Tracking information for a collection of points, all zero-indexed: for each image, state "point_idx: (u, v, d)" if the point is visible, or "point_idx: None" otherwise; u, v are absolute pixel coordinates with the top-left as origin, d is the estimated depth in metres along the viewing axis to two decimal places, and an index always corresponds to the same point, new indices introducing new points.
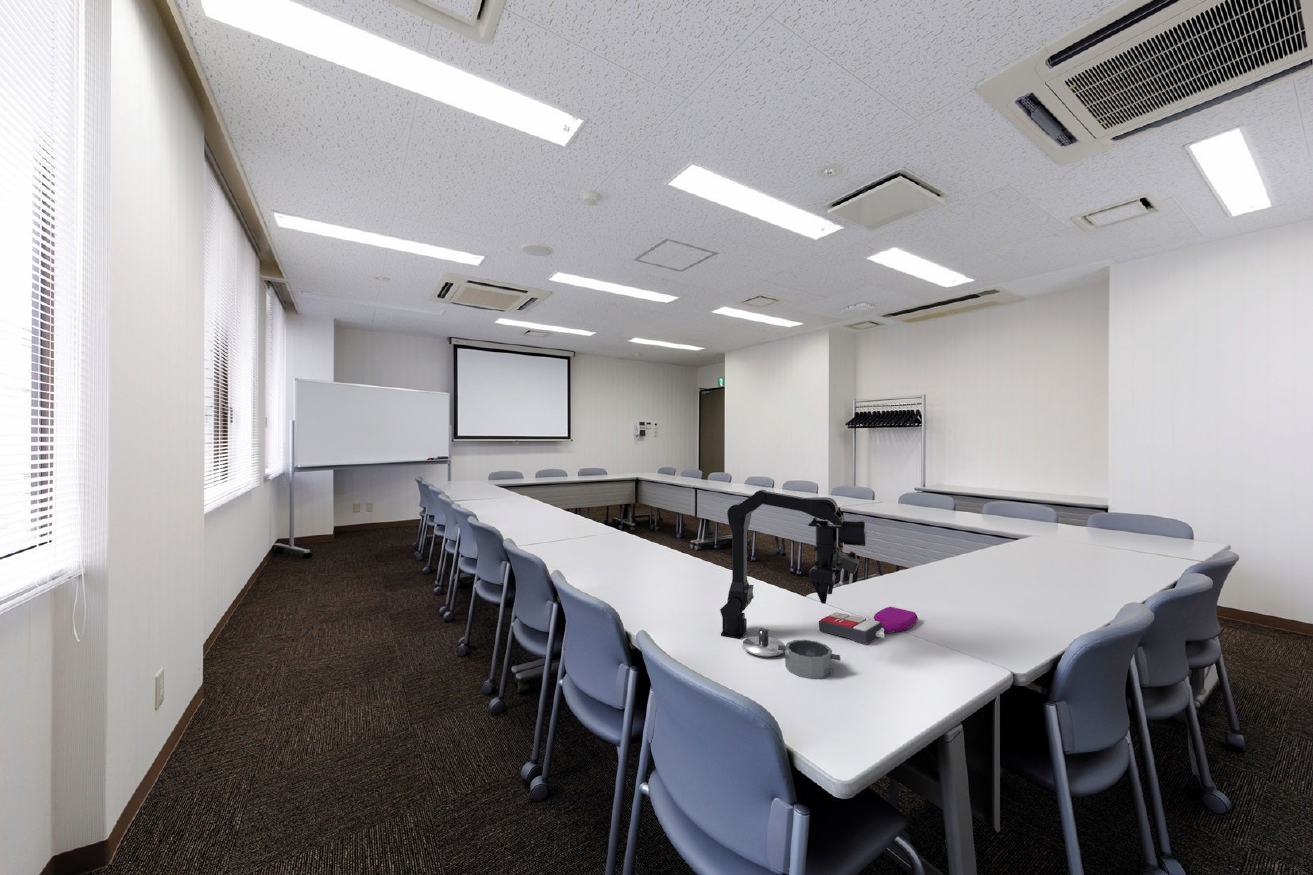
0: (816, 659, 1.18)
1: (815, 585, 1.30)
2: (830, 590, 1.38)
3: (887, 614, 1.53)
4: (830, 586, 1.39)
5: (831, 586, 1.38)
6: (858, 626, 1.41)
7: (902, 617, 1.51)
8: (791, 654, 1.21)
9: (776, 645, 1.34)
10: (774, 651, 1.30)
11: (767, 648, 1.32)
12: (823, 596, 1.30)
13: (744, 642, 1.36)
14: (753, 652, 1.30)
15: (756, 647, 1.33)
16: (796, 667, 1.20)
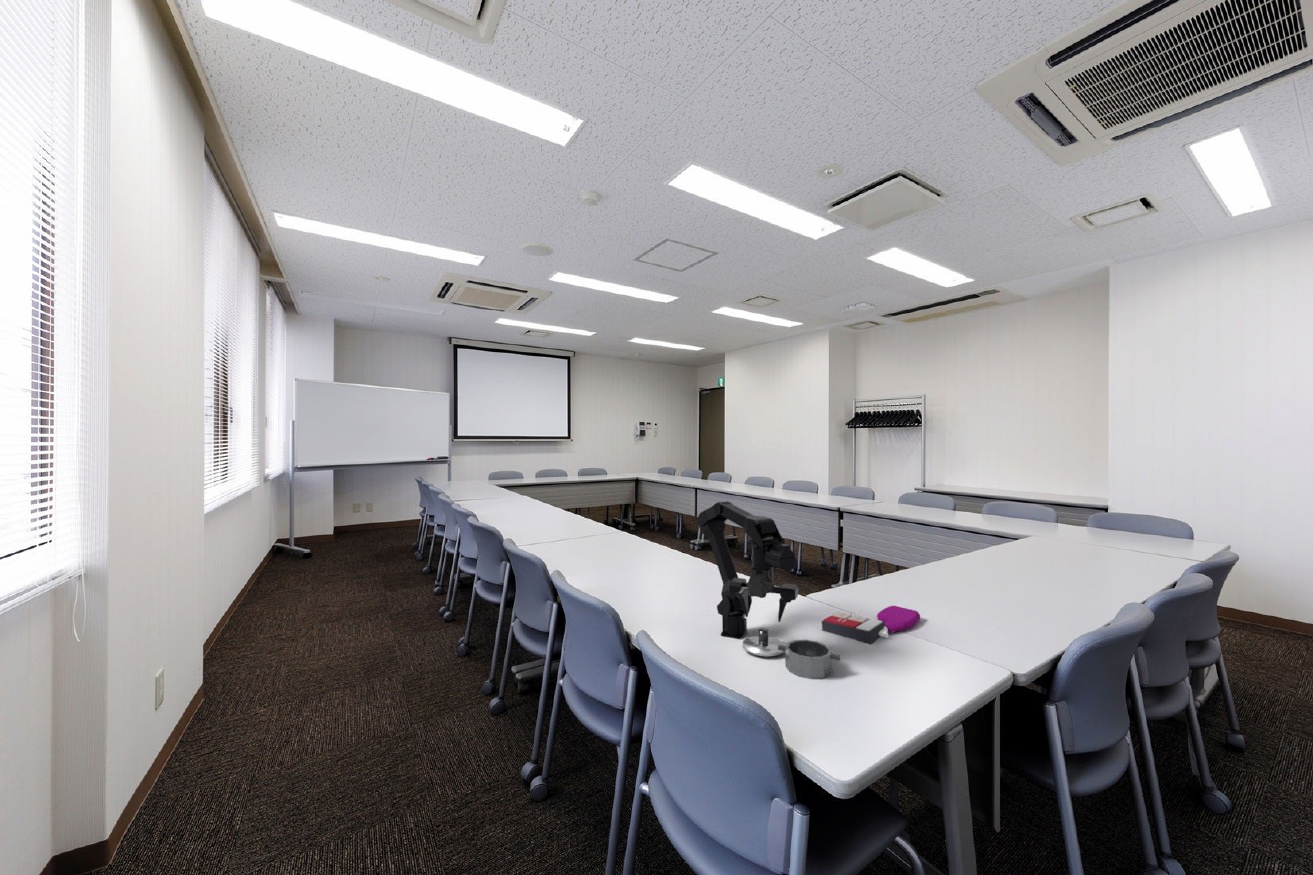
0: (816, 659, 1.18)
1: None
2: None
3: (890, 613, 1.54)
4: None
5: None
6: (861, 626, 1.42)
7: (905, 616, 1.52)
8: (791, 654, 1.21)
9: (776, 645, 1.34)
10: (774, 651, 1.30)
11: (767, 648, 1.32)
12: None
13: (744, 642, 1.36)
14: (753, 652, 1.30)
15: (756, 647, 1.33)
16: (796, 667, 1.20)
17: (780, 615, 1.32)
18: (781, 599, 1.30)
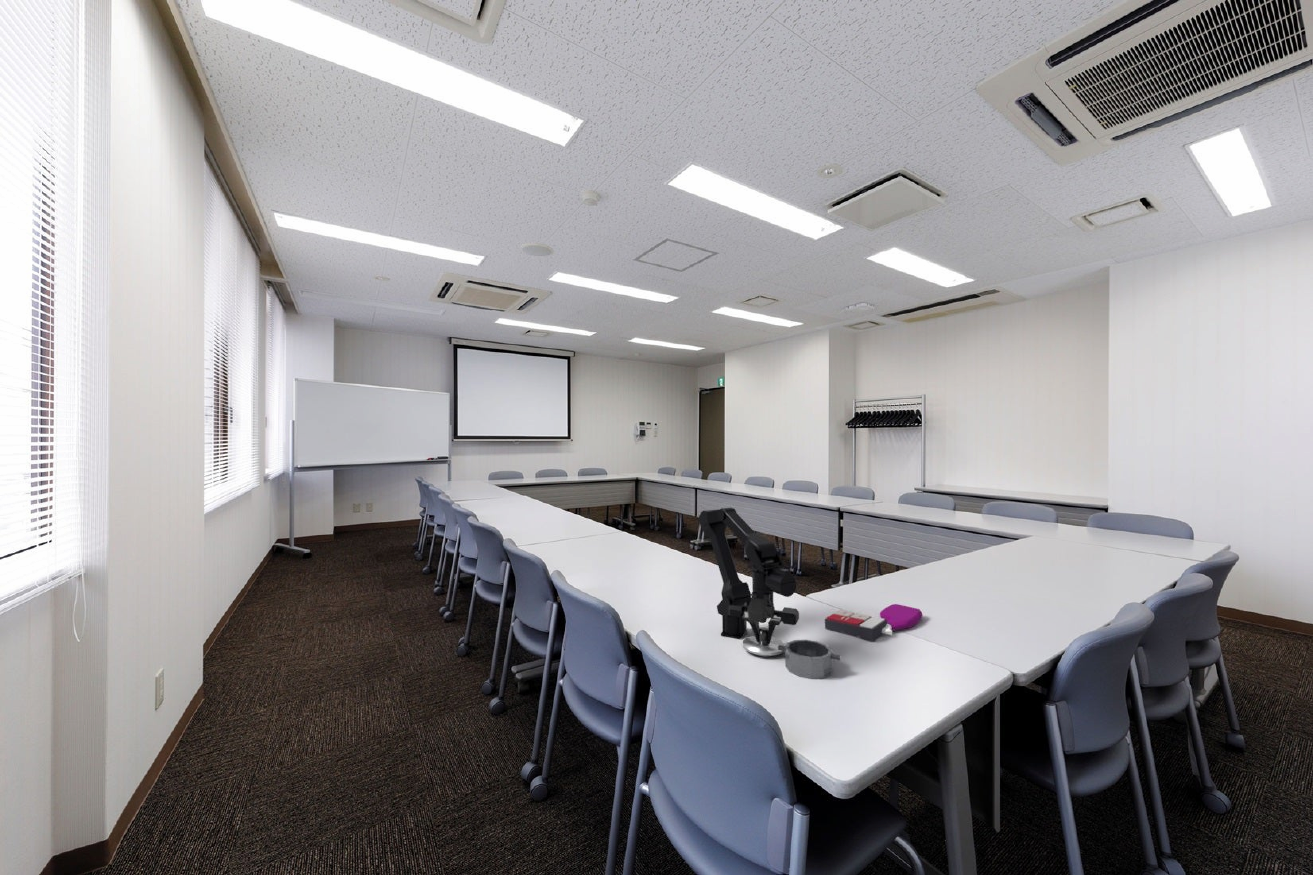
0: (816, 659, 1.18)
1: None
2: None
3: (893, 611, 1.56)
4: (768, 635, 1.34)
5: None
6: (864, 624, 1.43)
7: (908, 614, 1.54)
8: (791, 654, 1.21)
9: (776, 644, 1.34)
10: (774, 650, 1.30)
11: (767, 647, 1.32)
12: None
13: (744, 641, 1.36)
14: (753, 652, 1.30)
15: (756, 646, 1.33)
16: (796, 667, 1.20)
17: (769, 638, 1.33)
18: (770, 622, 1.32)
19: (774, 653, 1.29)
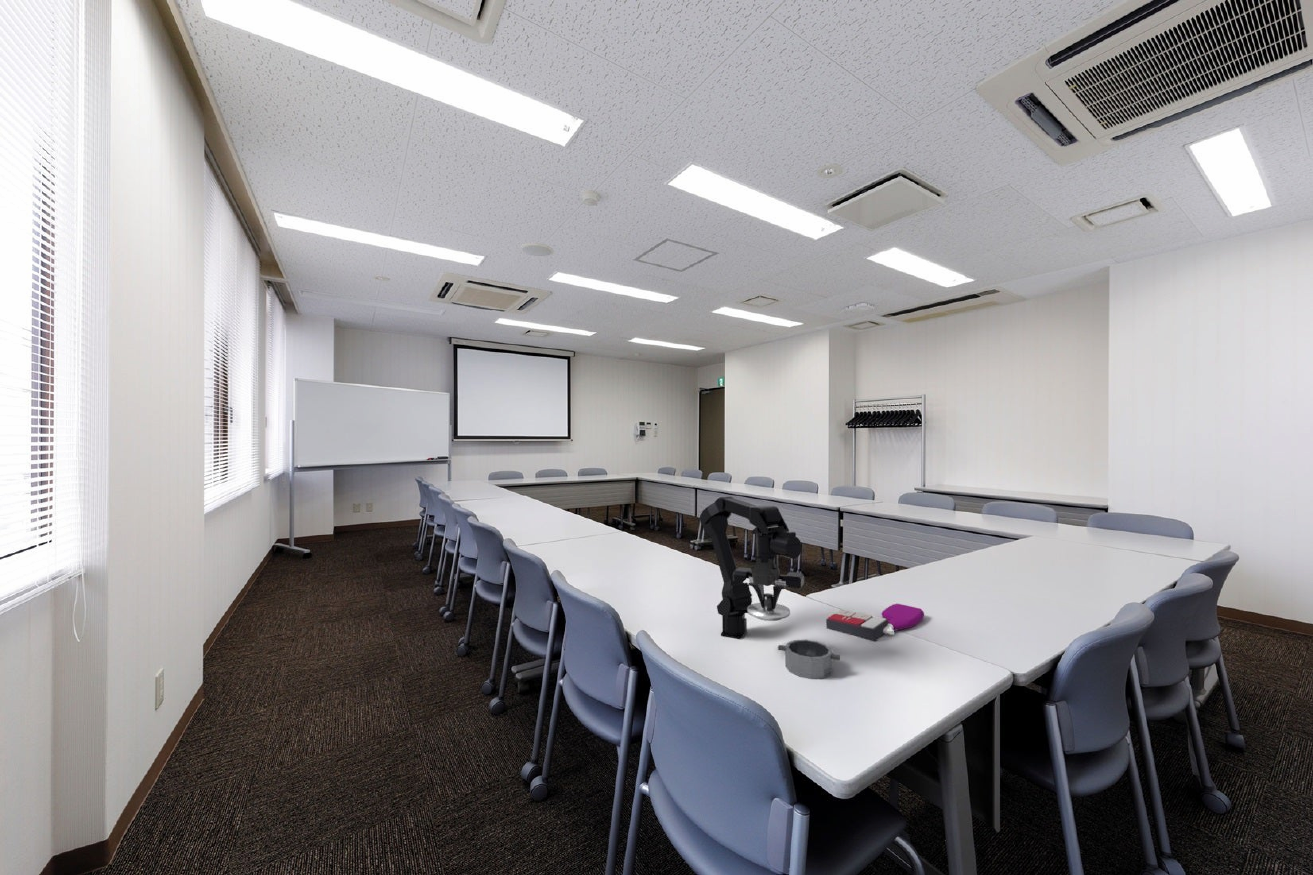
0: (816, 659, 1.18)
1: None
2: None
3: (895, 611, 1.56)
4: None
5: None
6: (865, 624, 1.44)
7: (910, 614, 1.54)
8: (791, 654, 1.21)
9: (781, 610, 1.33)
10: (779, 614, 1.29)
11: (772, 612, 1.31)
12: None
13: (749, 607, 1.35)
14: (758, 616, 1.29)
15: (761, 611, 1.31)
16: (796, 667, 1.20)
17: (774, 602, 1.32)
18: (775, 586, 1.30)
19: (779, 617, 1.28)
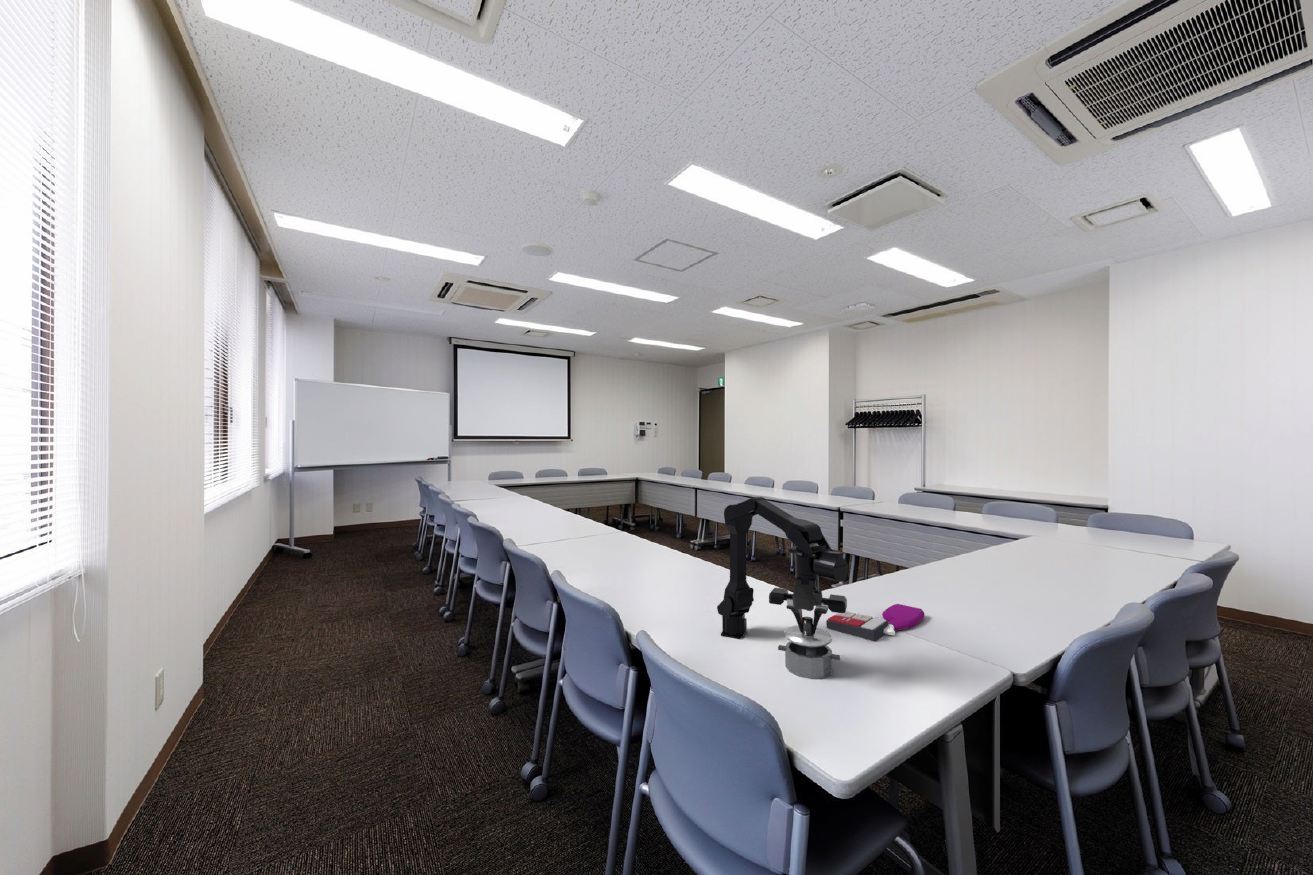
0: (816, 659, 1.18)
1: None
2: None
3: (895, 612, 1.56)
4: (813, 625, 1.23)
5: (813, 625, 1.23)
6: (865, 625, 1.44)
7: (910, 614, 1.54)
8: (791, 654, 1.21)
9: (822, 635, 1.23)
10: (821, 641, 1.19)
11: (813, 638, 1.21)
12: None
13: (786, 631, 1.25)
14: (798, 642, 1.19)
15: (800, 637, 1.22)
16: (796, 667, 1.20)
17: (815, 627, 1.22)
18: (816, 610, 1.21)
19: (821, 644, 1.18)
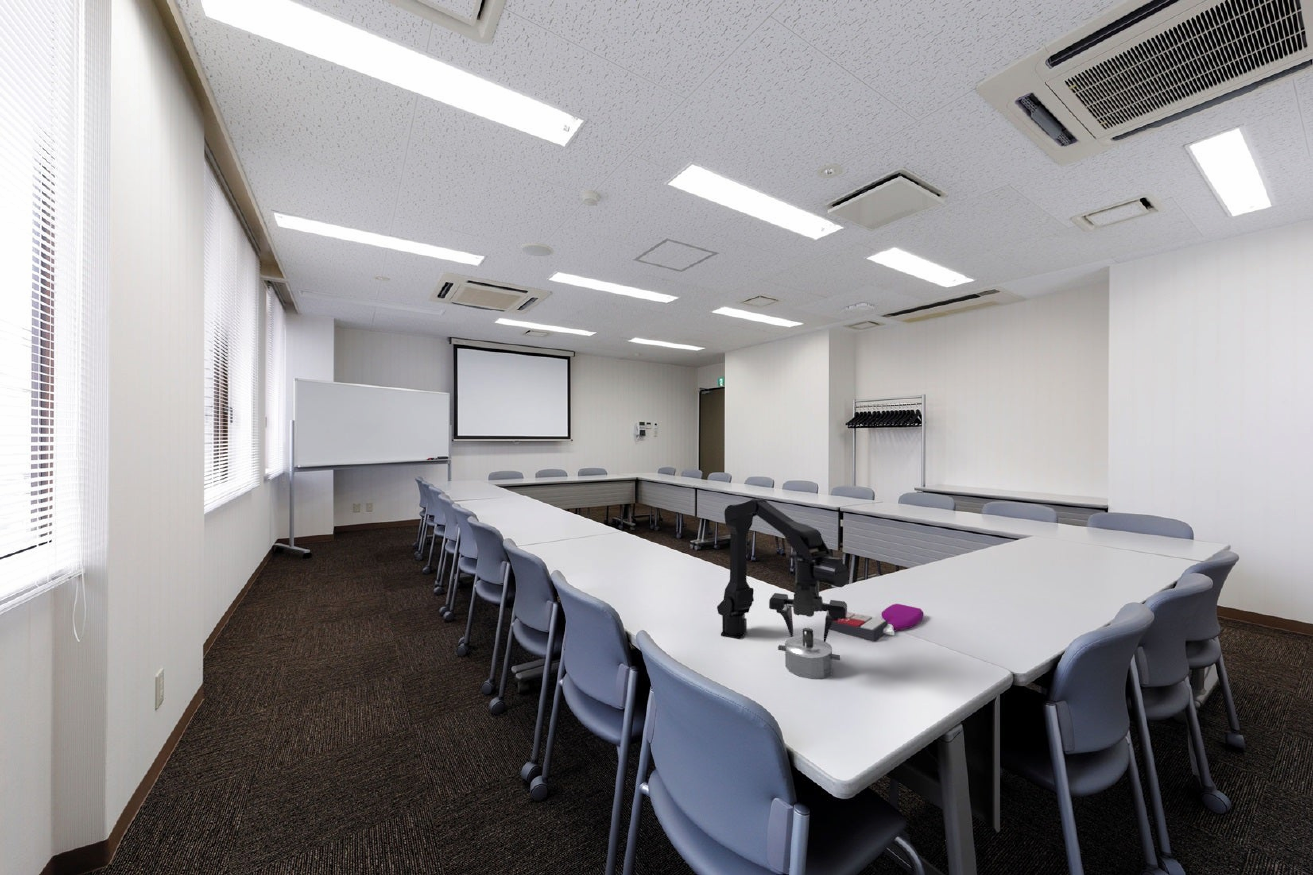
0: (816, 659, 1.18)
1: None
2: None
3: (894, 611, 1.57)
4: (824, 632, 1.22)
5: (824, 633, 1.22)
6: (865, 625, 1.43)
7: (909, 614, 1.54)
8: (791, 654, 1.21)
9: (822, 646, 1.23)
10: (821, 652, 1.19)
11: (813, 649, 1.21)
12: None
13: (786, 643, 1.25)
14: (798, 654, 1.19)
15: (801, 648, 1.22)
16: (796, 667, 1.20)
17: (826, 634, 1.21)
18: (827, 617, 1.20)
19: (822, 656, 1.18)
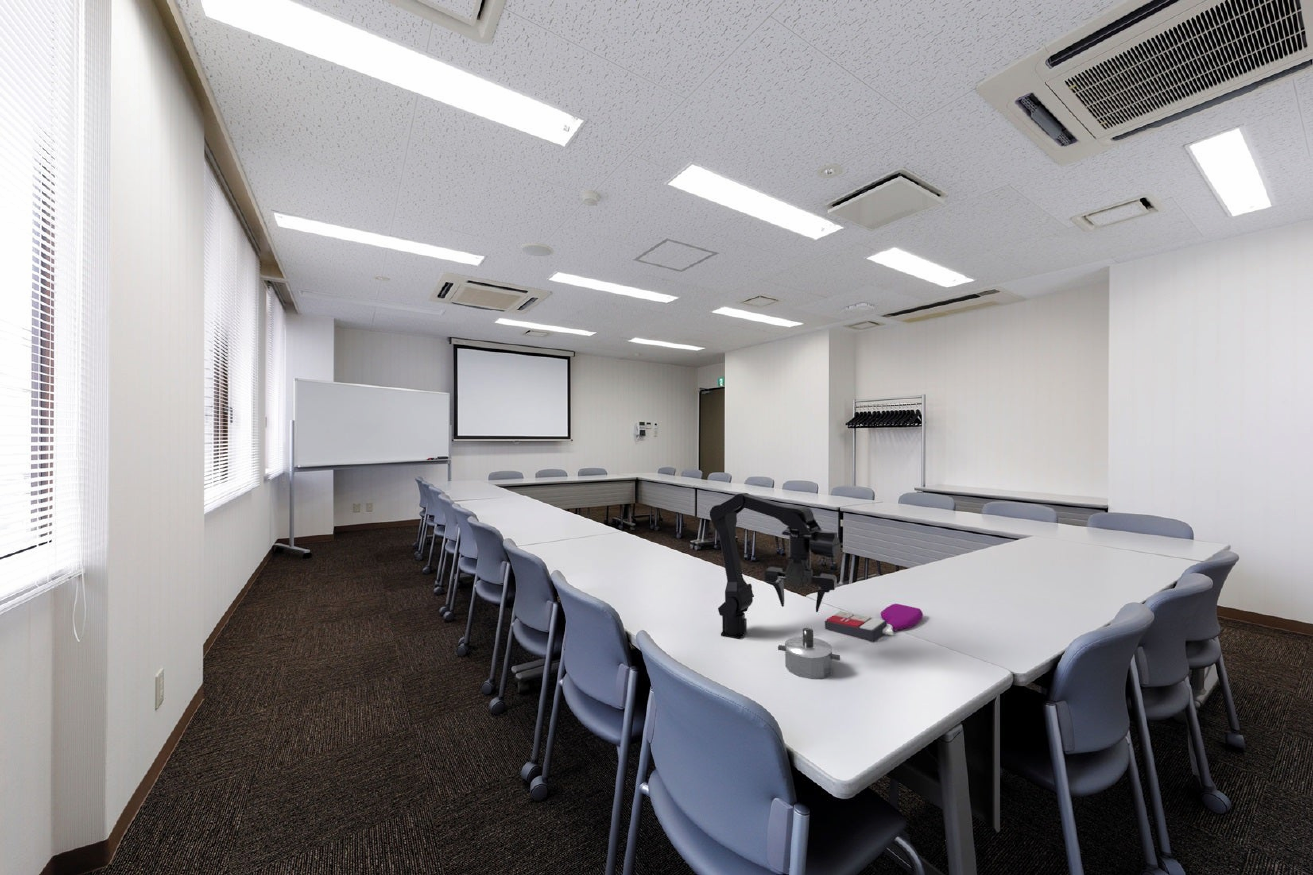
0: (816, 659, 1.18)
1: None
2: None
3: (894, 611, 1.57)
4: None
5: (816, 603, 1.30)
6: (864, 625, 1.43)
7: (908, 614, 1.54)
8: (791, 654, 1.21)
9: (822, 646, 1.23)
10: (821, 652, 1.19)
11: (813, 649, 1.21)
12: None
13: (786, 643, 1.25)
14: (798, 654, 1.19)
15: (801, 648, 1.22)
16: (796, 667, 1.20)
17: (818, 605, 1.30)
18: (819, 589, 1.28)
19: (822, 656, 1.18)
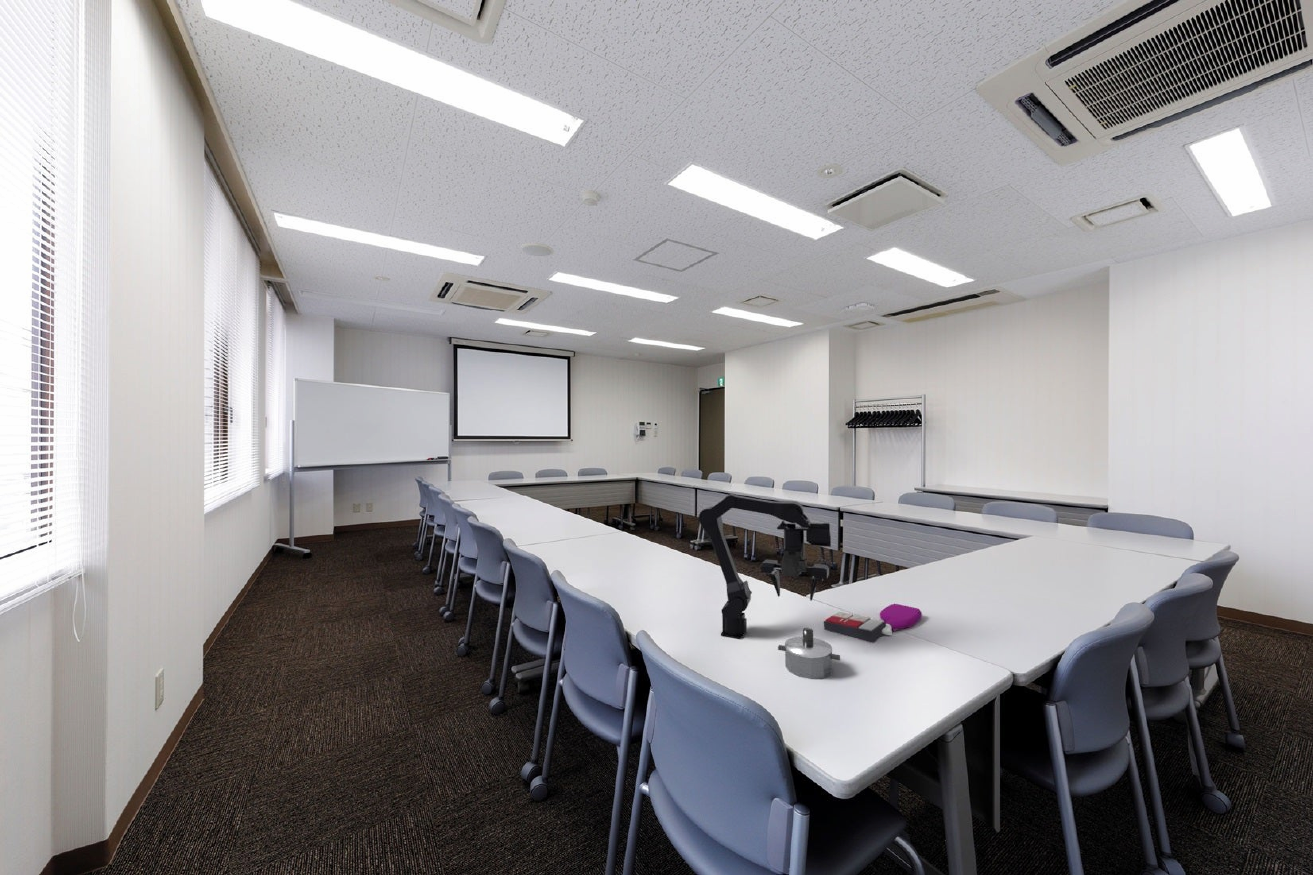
0: (816, 659, 1.18)
1: None
2: None
3: (893, 611, 1.57)
4: None
5: None
6: (863, 626, 1.43)
7: (907, 614, 1.54)
8: (791, 654, 1.21)
9: (822, 646, 1.23)
10: (821, 652, 1.19)
11: (813, 649, 1.21)
12: None
13: (786, 643, 1.25)
14: (798, 654, 1.19)
15: (801, 648, 1.22)
16: (796, 667, 1.20)
17: (812, 594, 1.38)
18: (813, 578, 1.36)
19: (822, 656, 1.18)
